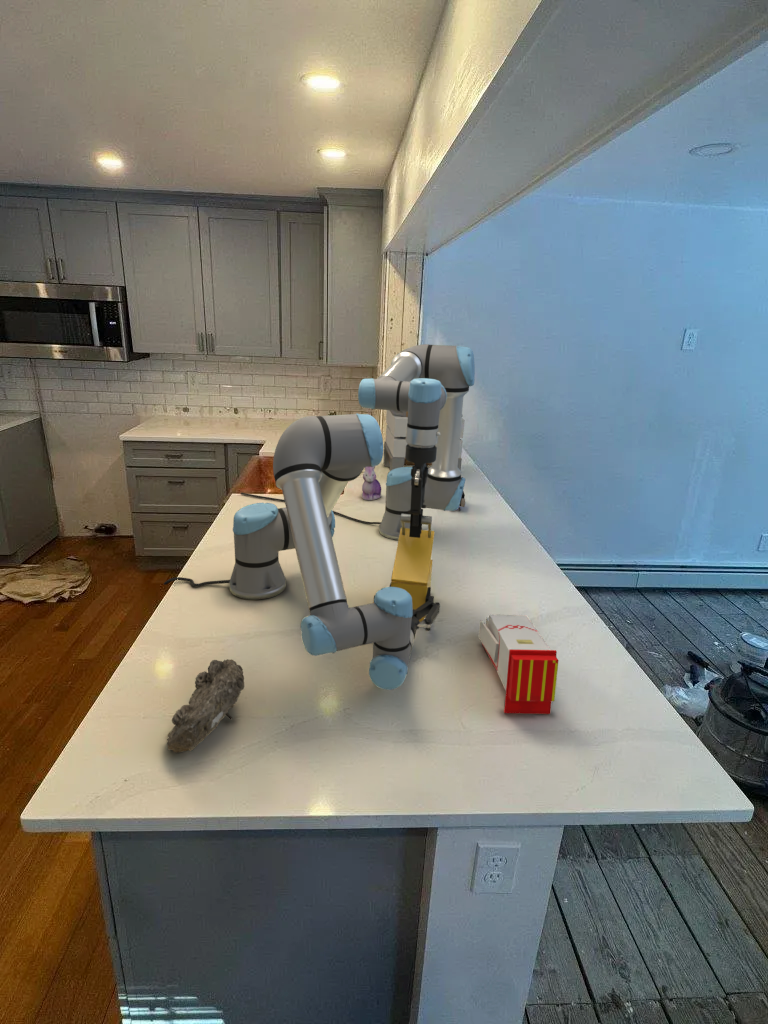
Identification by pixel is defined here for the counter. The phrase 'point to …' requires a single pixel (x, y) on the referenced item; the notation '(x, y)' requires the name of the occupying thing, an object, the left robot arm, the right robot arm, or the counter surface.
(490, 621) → the toy
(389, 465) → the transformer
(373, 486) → the figurine
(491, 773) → the counter surface
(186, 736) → the fossil
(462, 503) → the figurine character
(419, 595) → the yellow open-ended box
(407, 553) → the yellow block with rod
